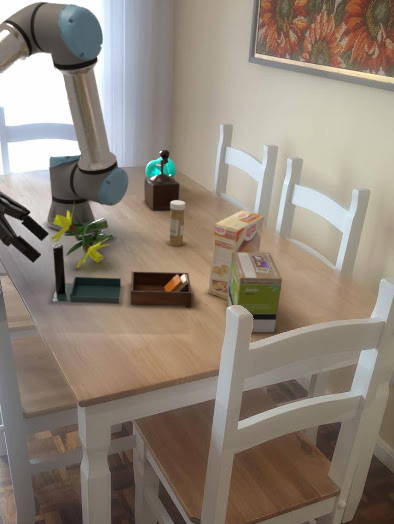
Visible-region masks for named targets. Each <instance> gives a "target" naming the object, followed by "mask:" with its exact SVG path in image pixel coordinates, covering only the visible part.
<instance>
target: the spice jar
mask: <svg viewBox="0 0 394 524" xmlns="http://www.w3.org/2000/svg"><path fill="white" fill-rule="evenodd" d="M170 208H171V209H170V215H169V239H168V243H169V245H171V246H174V247H177V246H178V247H179V246H182V245H183V244H184V229H185V227H184V224H185V209H186V201H183V200H180V199H179V200H174V201H171V203H170Z"/></svg>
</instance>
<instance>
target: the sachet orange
mask: <svg viewBox="0 0 394 524" xmlns="http://www.w3.org/2000/svg"><path fill="white" fill-rule="evenodd" d="M182 284H183V282H182V280H181V278H180V276H179V275H178V274H177V275H176V276H175V277H174V278H173V279H172V280H170V281H169V282H168V283H167V284H166V285H165V286H164V288H165V290H166V291H169V292H175V291H176V290H177V289H178V288H179V287H180V286H181V285H182Z"/></svg>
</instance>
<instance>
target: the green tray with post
mask: <svg viewBox="0 0 394 524" xmlns="http://www.w3.org/2000/svg"><path fill="white" fill-rule="evenodd" d="M52 252H53V267H54V282H55V291H54V295H53V297H52V300H51V301H52V302H63V303H67V302H68V303H92V304H93V303H95V304H120V295H121V287H122V281H121V280H122V279H121V277H94V276H93V277H90V276H89V277H88V276H74V277H73V282H72V283H66V275H65V258H64V257H65V256H64V246H63V245H62V244H53V246H52Z"/></svg>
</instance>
